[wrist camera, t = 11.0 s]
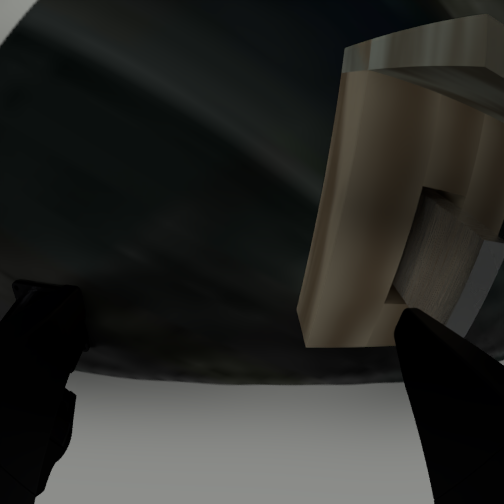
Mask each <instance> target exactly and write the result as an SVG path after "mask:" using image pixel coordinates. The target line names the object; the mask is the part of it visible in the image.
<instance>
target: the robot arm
mask: <svg viewBox="0 0 504 504" xmlns="http://www.w3.org/2000/svg"><path fill="white" fill-rule="evenodd" d="M12 288H13V291H14V294H15V298H16V302H15V303H14V304H13V305H12V307H11V308H10V309H9V311H8V312H7V313H6V315H5V316H4V317H3V319H2V320H1V321H0V504H34V502H35V497H36V496H38V495H39V494H41V493H42V492H43V491H44V489H45V486H46V483H47V480H48V477H49V475H50V472H51V470H52V468H53V466H54V464H55V463H56V462H57V461H58V460H59V459H60V458H61V457H62V456H63V455H64V453H65V451H66V450H67V447H68V445H69V443H70V440H71V436H72V427H73V417H74V409H75V402H76V395H75V394H74V393H73V392H71V391H68V390H67V389H66V388H65V386H66V383H67V380H68V377H69V374H70V373H72V372H73V371H74V370H75V367H76V365H77V363H78V360H79V358H80V356H81V354H82V351H84V352H87V351H88V350H89V348H90V345H89V341H88V338H89V337H88V334H87V330H86V326H85V322H84V321H85V316H86V313H85V307H84V303H83V298H82V293H81V290H80V288H79V287H78V286H72V285H64V286H62V287H57V286H50V285H43V284H37V283H30V282H24V281H18V280H16V281H15V282H14V283H13V284H12ZM394 340H395V344H396V348H397V353H398V357H399V362H400V367H401V372H402V376H403V380H404V383H405V387H406V390H407V394H408V397H409V400H410V404H411V407H412V411H413V414H414V418H415V421H416V425H417V429H418V433H419V436H420V440H421V444H422V448H423V452H424V456H425V460H426V465H427V469H428V474H429V478H430V483H431V487H432V492H433V498H434V504H504V365H502V364H501V363H499V362H498V361H497V360H495V359H494V358H492V357H491V356H489V355H488V354H486V353H485V352H484V351H482V350H481V349H479V348H478V347H476V346H475V345H473V344H472V343H470V342H469V341H467V340H466V339H464V338H463V337H461V336H460V335H458V334H457V333H455V332H454V331H452V330H451V329H449V328H448V327H446V326H445V325H443V324H442V323H440V322H439V321H437V320H436V319H434V318H433V317H431V316H429V315H428V314H426V313H425V312H423V311H422V310H420V309H418V308H405V309H404V310H403V312H402V314H401V316H400V318H399V321H398V323H397V325H396V327H395V330H394Z"/></svg>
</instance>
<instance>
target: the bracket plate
mask: <svg viewBox="0 0 504 504" xmlns="http://www.w3.org/2000/svg"><path fill="white" fill-rule="evenodd" d="M503 259H504V240H503V239H502V238H500V237H499V236H498V235H496V234H495V233H494V232H492V231H491V230H490V229H488V228H487V227H486V226H484V225H483V224H482V223H480V222H479V221H478V220H476V219H475V218H474V217H472V216H471V215H469V214H468V213H466V212H465V211H464V210H462V209H461V208H459V207H458V206H456V205H455V204H453V203H452V202H450V201H449V200H447V199H446V198H444V197H443V196H441V195H440V194H438V193H437V192H435V191H434V190H432V189H431V188H428V187H424V186H423V187H422V190H421V194H420V198H419V201H418V205H417V209H416V212H415V216H414V219H413V222H412V226H411V229H410V232H409V235H408V238H407V241H406V245H405V248H404V251H403V254H402V257H401V259H400V262H399V265H398V268H397V271H396V274H395V276H394V279H393V282H392V283H393V285H394V286H395V288H396V289H397V291H398V292H399V294H400V295H401V297H402V298H403V300H404V301H405V303H406V304H407V306H408V307H409V308H418V309H420V310H422V311H423V312H425V313H426V314H428V315H429V316H431V317H433V318H434V319H436V320H437V321H439V322H440V323H442V324H443V325H445V326H446V327H448V328H449V329H451V330H452V331H454V332H455V333H457V334H458V335H460V336H461V337H463V338H464V337H465V335H466V334H467V332H468V330H469V328H470V327H471V325H472V323H473V321H474V319H475V317H476V316H477V314H478V312H479V310H480V308H481V306H482V304H483V302H484V300H485V298H486V296H487V294H488V292H489V290H490V288H491V286H492V284H493V282H494V279H495V277H496V275H497V273H498V271H499V268H500V266H501V264H502V261H503Z"/></svg>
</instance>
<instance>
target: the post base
mask: <svg viewBox="0 0 504 504" xmlns="http://www.w3.org/2000/svg"><path fill="white" fill-rule="evenodd" d="M423 186H424V187H428V188H431V189H432V190H434V191H435V192H437V193H438V194H440V195H441V196H443V197H444V198H446V199H447V200H449V201H450V202H452V203H453V204H455V205H456V206H458V207H459V208H461V209H462V210H464V211H465V212H466V213H468V214H469V215H471V216H472V217H474V218H475V219H476V220H478V221H479V222H480V223H482V224H483V225H484V226H486V227H487V228H488V229H490V230H491V231H492V232H494V233H495V234H496V235H498V234H499V231H500V228H501V225H502V223H503V220H504V25H503V24H502V23H500V22H499V21H497V20H496V19H494V18H493V17H491V16H490V15H488V14H483V15H476V16H469V17H463V18H457V19H452V20H446V21H441V22H437V23H432V24H427V25H423V26H419V27H415V28H411V29H407V30H403V31H399V32H395V33H392V34H388V35H385V36H381V37H378V38H375V39H371V40H368V41H365V42H362V43H359V44H356V45H353V46H350V47H347V48H345V51H344V59H343V67H342V74H341V81H340V88H339V95H338V102H337V109H336V115H335V121H334V127H333V134H332V140H331V145H330V151H329V157H328V163H327V168H326V174H325V179H324V184H323V190H322V195H321V200H320V205H319V210H318V215H317V220H316V225H315V230H314V234H313V239H312V244H311V248H310V253H309V258H308V262H307V267H306V271H305V275H304V280H303V284H302V288H301V293H300V297H299V301H298V305H297V313H298V317H299V321H300V325H301V329H302V334H303V338H304V342H305V346H306V347H307V348H336V347H377V346H396V344H395V340H394V330H395V327H396V325H397V323H398V321H399V318H400V316H401V314H402V312H403V310H404V309H405V308H409V307H408V306H407V304H406V303H405V301H404V300H403V298H402V297H401V295H400V294H399V292H398V291H397V289H396V288H395V286H394V285H393V283H392V282H393V279H394V276H395V274H396V271H397V268H398V265H399V262H400V259H401V257H402V254H403V251H404V248H405V245H406V241H407V238H408V235H409V232H410V229H411V226H412V222H413V219H414V216H415V212H416V209H417V205H418V201H419V198H420V194H421V190H422V187H423Z"/></svg>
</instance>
